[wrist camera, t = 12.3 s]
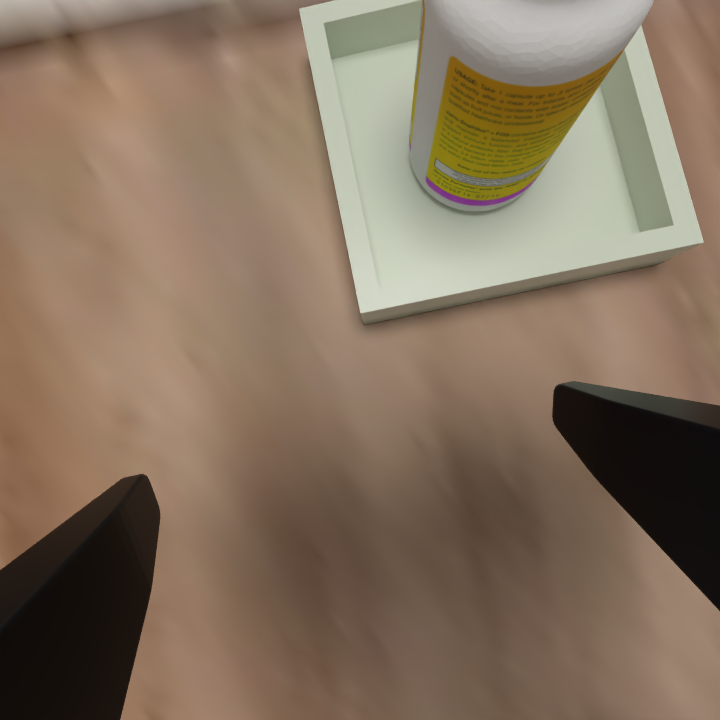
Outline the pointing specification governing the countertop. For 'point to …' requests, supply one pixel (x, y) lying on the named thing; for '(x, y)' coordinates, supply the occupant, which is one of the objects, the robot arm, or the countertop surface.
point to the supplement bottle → (506, 89)
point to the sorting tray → (501, 225)
